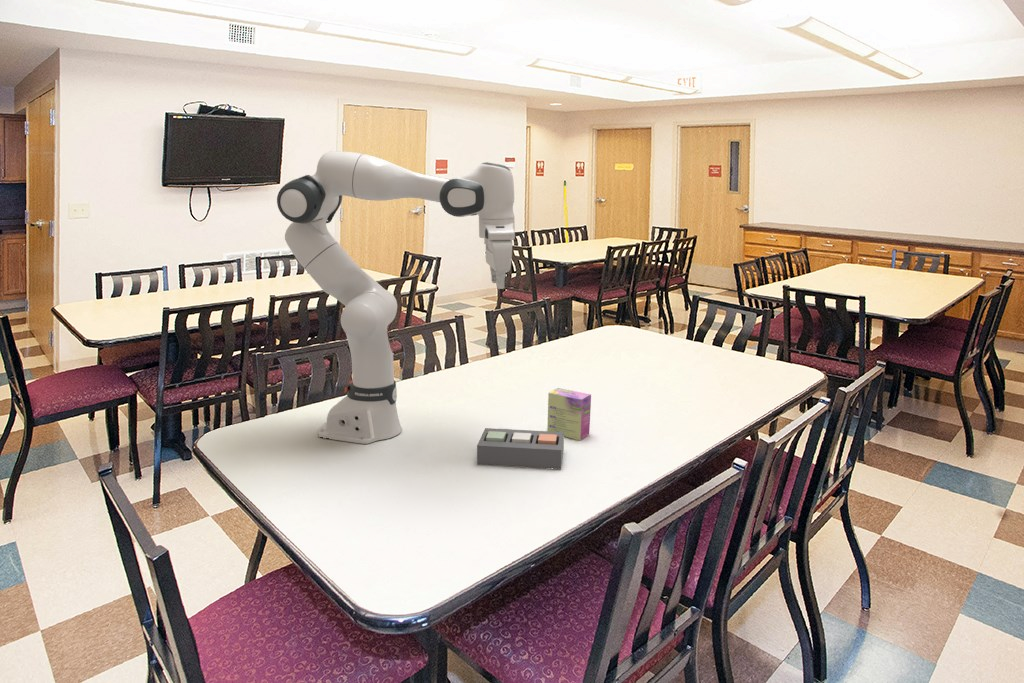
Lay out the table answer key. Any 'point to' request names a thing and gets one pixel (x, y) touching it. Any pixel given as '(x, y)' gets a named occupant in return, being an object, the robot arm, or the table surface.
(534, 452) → the keyboard
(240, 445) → the table surface
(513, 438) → the key grey
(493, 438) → the key sage
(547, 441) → the key terracotta
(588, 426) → the box
